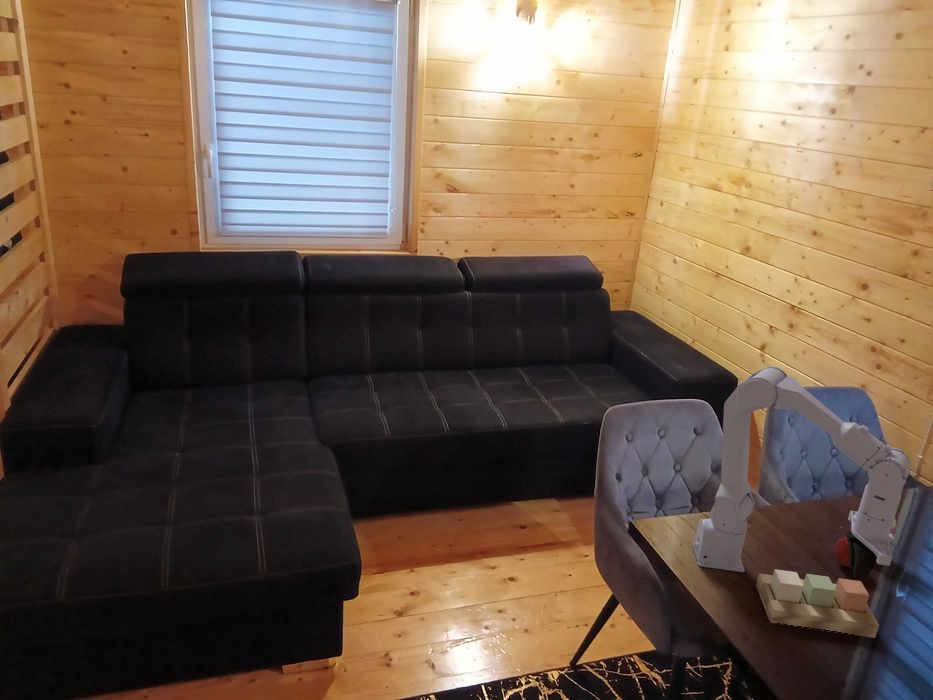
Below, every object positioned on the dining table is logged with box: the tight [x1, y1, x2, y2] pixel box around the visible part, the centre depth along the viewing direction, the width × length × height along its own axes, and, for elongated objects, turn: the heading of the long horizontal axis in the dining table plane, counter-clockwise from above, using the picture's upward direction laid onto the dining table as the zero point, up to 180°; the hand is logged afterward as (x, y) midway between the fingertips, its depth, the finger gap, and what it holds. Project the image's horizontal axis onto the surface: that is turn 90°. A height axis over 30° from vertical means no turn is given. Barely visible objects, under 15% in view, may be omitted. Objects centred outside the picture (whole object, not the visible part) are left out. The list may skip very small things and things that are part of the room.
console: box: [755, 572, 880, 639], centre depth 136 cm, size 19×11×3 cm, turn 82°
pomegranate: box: [833, 536, 850, 567], centre depth 149 cm, size 6×6×8 cm
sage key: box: [802, 573, 836, 608], centre depth 135 cm, size 4×4×4 cm
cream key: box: [770, 568, 803, 603], centre depth 135 cm, size 4×4×4 cm
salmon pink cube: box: [835, 577, 870, 612], centre depth 134 cm, size 4×4×4 cm
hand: (857, 573), depth 132 cm, fingers closed
